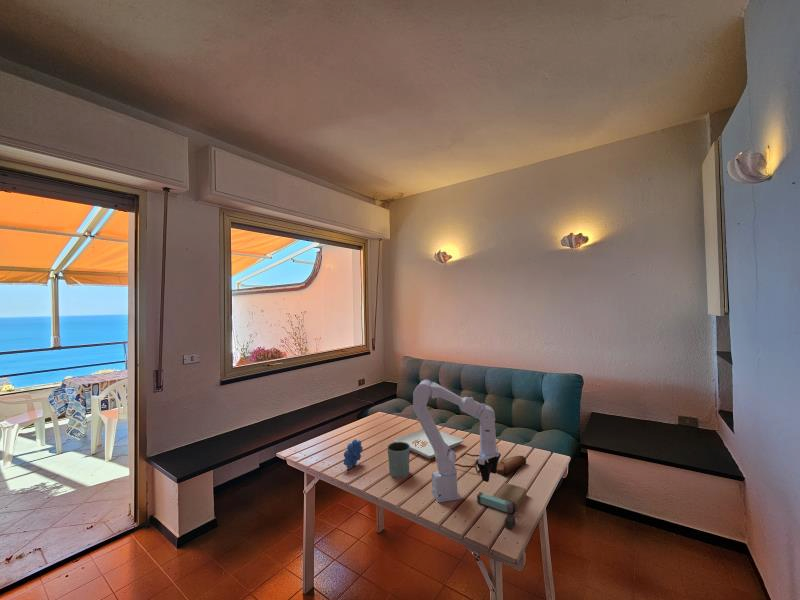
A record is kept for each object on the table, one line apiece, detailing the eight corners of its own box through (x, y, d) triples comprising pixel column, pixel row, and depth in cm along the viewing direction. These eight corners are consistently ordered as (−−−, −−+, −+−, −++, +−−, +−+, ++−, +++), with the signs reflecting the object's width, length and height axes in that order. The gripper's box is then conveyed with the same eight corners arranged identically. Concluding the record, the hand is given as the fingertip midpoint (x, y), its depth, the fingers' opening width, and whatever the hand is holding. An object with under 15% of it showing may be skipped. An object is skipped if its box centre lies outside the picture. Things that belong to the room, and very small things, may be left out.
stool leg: (514, 510, 112) (513, 502, 112) (511, 514, 109) (511, 506, 110) (480, 499, 119) (479, 491, 119) (477, 502, 117) (477, 495, 117)
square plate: (392, 446, 171) (392, 439, 171) (427, 433, 189) (427, 426, 189) (430, 463, 151) (429, 454, 151) (464, 446, 169) (464, 438, 169)
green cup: (405, 466, 147) (405, 440, 147) (414, 476, 137) (413, 448, 138) (384, 471, 143) (384, 443, 144) (392, 481, 134) (391, 452, 134)
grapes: (355, 459, 156) (355, 434, 156) (366, 463, 152) (365, 437, 152) (337, 468, 146) (337, 442, 147) (347, 473, 142) (347, 445, 143)
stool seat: (530, 496, 120) (530, 489, 120) (511, 529, 102) (511, 521, 102) (505, 488, 126) (504, 482, 126) (482, 519, 108) (482, 511, 108)
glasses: (477, 475, 138) (477, 463, 138) (449, 468, 145) (449, 457, 145) (486, 463, 149) (486, 452, 149) (460, 457, 156) (460, 446, 156)
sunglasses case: (509, 457, 153) (515, 447, 151) (522, 469, 148) (528, 459, 146) (488, 470, 141) (494, 459, 139) (501, 484, 136) (507, 473, 134)
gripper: (491, 448, 112) (492, 488, 111) (504, 435, 123) (506, 471, 123) (472, 444, 116) (473, 482, 115) (487, 432, 127) (488, 467, 127)
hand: (489, 476), depth 119 cm, fingers open, 7 cm apart
